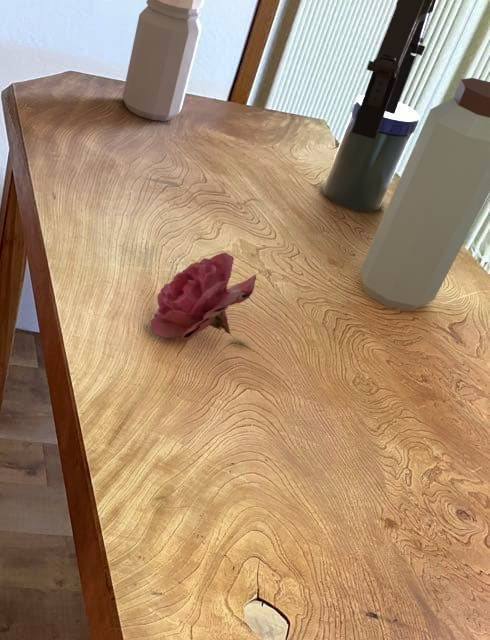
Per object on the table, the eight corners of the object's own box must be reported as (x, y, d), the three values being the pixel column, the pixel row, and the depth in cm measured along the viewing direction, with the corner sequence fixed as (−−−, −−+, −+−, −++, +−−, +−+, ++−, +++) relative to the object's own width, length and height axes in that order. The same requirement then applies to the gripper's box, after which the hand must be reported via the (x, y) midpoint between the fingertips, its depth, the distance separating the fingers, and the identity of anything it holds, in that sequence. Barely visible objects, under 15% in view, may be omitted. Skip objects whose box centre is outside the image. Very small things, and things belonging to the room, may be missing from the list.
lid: (426, 136, 126) (433, 122, 125) (376, 135, 123) (381, 120, 121) (388, 109, 132) (393, 95, 130) (338, 107, 128) (343, 93, 127)
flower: (138, 363, 98) (125, 269, 95) (198, 348, 104) (186, 259, 102) (218, 357, 90) (205, 253, 87) (278, 341, 96) (268, 244, 93)
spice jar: (391, 211, 134) (430, 125, 125) (344, 212, 130) (380, 124, 122) (357, 183, 139) (392, 99, 131) (311, 183, 136) (343, 97, 127)
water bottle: (341, 272, 116) (427, 68, 99) (403, 273, 119) (498, 76, 102) (379, 315, 110) (480, 104, 92) (445, 314, 113) (553, 111, 96)
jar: (191, 122, 145) (223, -2, 132) (141, 123, 140) (170, -5, 127) (158, 97, 150) (186, -24, 137) (109, 98, 145) (134, -28, 133)
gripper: (430, -103, 103) (363, 93, 117) (396, -94, 85) (321, 137, 99) (495, -88, 101) (419, 109, 115) (474, -75, 83) (387, 157, 97)
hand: (374, 122), depth 107 cm, fingers open, 13 cm apart
